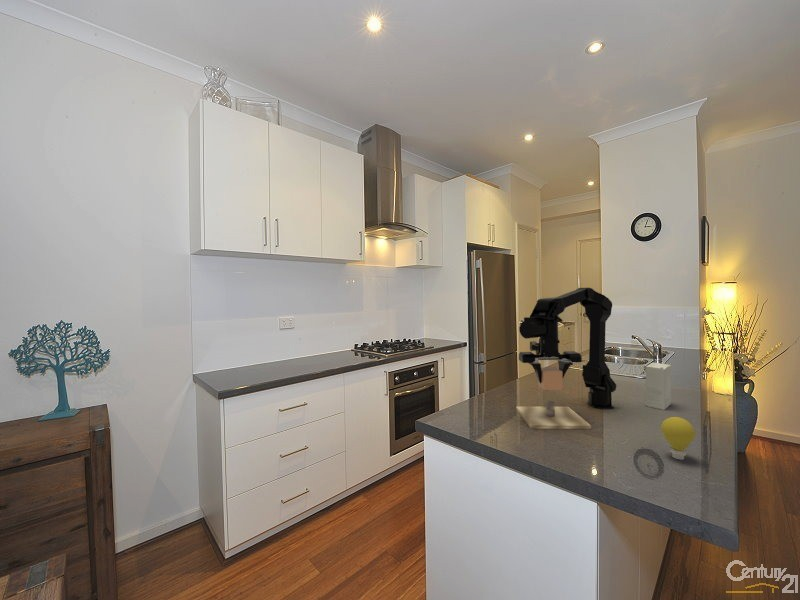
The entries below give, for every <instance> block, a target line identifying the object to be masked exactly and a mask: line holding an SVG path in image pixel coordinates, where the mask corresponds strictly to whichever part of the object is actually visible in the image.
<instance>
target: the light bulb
mask: <svg viewBox="0 0 800 600" xmlns="http://www.w3.org/2000/svg"><path fill="white" fill-rule="evenodd" d="M660 430H661V433H662V434H663V436H664V438H665V440H666V441H667V443H669V445H670V448H669V453H671V457H672V458H673V459H676V460H685V457H686V456H687V450H686V448H688V446H690V444H691V443H692V442H693V441H694V439H695V438H696V432H695V431H696V430H695V428H694V427H693V425H692V423H690V422H689V421H688V420H686V419H684V418H682V417H680V416H679V417H678V416H671V417H668V418H665V419H664V420H663V422H662V423H661V427H660Z"/></svg>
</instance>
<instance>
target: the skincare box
mask: <svg viewBox="0 0 800 600" xmlns="http://www.w3.org/2000/svg"><path fill="white" fill-rule="evenodd" d="M671 404H672V365H671V364H668V363H667V364H666V363H659V362H651V363H649V364H648V365H646V366H645V406H646V407H648V408H654V409H658V410H662V411H663V410H664V411H665V410H666V409H667V408H669V407H670V406H671Z"/></svg>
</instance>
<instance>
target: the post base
mask: <svg viewBox="0 0 800 600" xmlns="http://www.w3.org/2000/svg"><path fill="white" fill-rule="evenodd" d="M515 409H516V412H518V414H520V416H521V417H522V419H523V420H524V422H525V424H527V426H528V427H529V428H530V429H531V430H532V429H533V430H535V429H537V430H538V429H541V430H542V429H549V430H551V429H555V430H567V429H568V430H591V429H592V424H590V423H589V422H587V421H586V420H585V419H584V418H583V417H581V416H580V415H579V414H577V413H576V412H575V411H574V410H573V409H571V408H570V407H569V406H555V401H553V400H546V401H545V406H516V408H515Z"/></svg>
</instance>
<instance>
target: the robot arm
mask: <svg viewBox="0 0 800 600" xmlns="http://www.w3.org/2000/svg"><path fill="white" fill-rule="evenodd" d="M576 304H580V306H581V307H583V308H584V312H585V316H586V317H587V319H588V321H589V341H588V342H589V343H588V344H589V348H588V349H589V351H588V362H587V363H586V364H583V366H582V367H581V368H582V374H581V376H582V379H583V381H584V382H583V383H584V385H585V388H589V391H588V393H587V394H588V395H587V396H588V399H587V400H588V401H587V403H588V405H591V406H592V407H593V408H595V409H614V408H615V406H614V405H612V403H613V400H612V393H614V392H615V391H616V390H617V384H616V383H615V381H614V380H613V379H612V377H611V373H610V372H611V369H610V368H609V367H608V365H607V363H606V361H605V360H606V359H605V358H606V324H607V320H608V319H609V318H610V317H611V316H612V315H611V314H612V308H613V302H612V300H610V298H608V297H607V296H606V295H604V294H603V293H600V292H598V291H595V290H594V288H592V287H579V288H576V289H575V290H571V291H569V292H567V293H566V292H565V293H564V294H560V295H559V296H554V297H543V298H539V299H537V301H536V304H535V305H534V307H533V309H532V311H531V314H530V316H529V317H528V316H526V317H523V321H522V322H521V323H520V326H519V328H518V329H519V330H518V331H519V333H520V334H519V335H521V337H522V338H523V339H536V338H538V343H537V341H536V340H533V341H532V340H531V341H529V350H530V351H520V352H519V354H518V361H520V362H521V363H523V364H529V365H531V367H532V368H533V370H534V372H535V375H536V377H537V382H538V381H539V383H541V380H542V377H541V368H542V365H541V364H542V363H540V362H539V361H547V360H549V361H550V360H551V361H553V360H554V361H555V360H556V361H557V363H558V369H559V370H561V371H562V375H563V378H564V377H565V375H566V373H567V371H568V370H569V369H570V367H571V366H573V365H574V363H583V358H582V355H581V354H580V352H577V351H573V350H570V351H569V350H568V351H567V350H563V352H562V353H560V352H559V347H560V346H559V344H560V343H561V341H560V339H559V323H562V322H563V321H564V320H563V319H562V318H561V317H560V316H559V315H560V314H562V313H564V312H565V309H566V308H568V307H571V306H574V305H576ZM533 352H535V353H533Z"/></svg>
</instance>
